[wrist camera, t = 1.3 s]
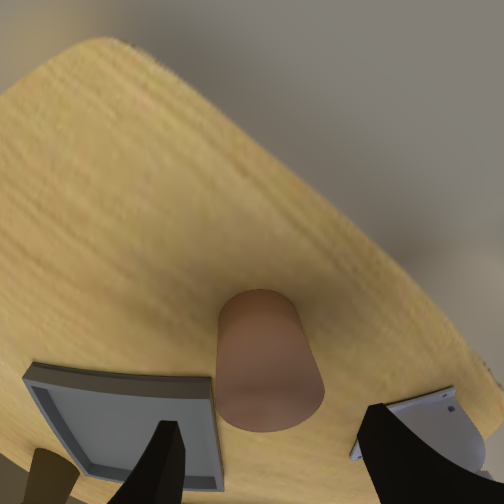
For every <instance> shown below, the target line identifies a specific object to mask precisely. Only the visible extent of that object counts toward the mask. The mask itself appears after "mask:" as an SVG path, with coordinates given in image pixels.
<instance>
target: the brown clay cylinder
mask: <svg viewBox="0 0 504 504" xmlns="http://www.w3.org/2000/svg"><path fill="white" fill-rule="evenodd" d="M324 393H325V389H324V384H323V381H322V378H321V375H320V373H319V370H318V367H317V365H316V362H315V359H314V357H313V354H312V351H311V349H310V346H309V343H308V341H307V338H306V336H305V333H304V330H303V328H302V325H301V322H300V320H299V317H298V315H297V312H296V310H295V308H294V306H293V304H292V303H291V302H290V301H289V300H288V299H287V298H286V297H285V296H283V295H281V294H279V293H277V292H274V291H271V290H264V289H257V290H250V291H246V292H243V293H241V294H239V295H237V296H235V297H233V298H232V299H231V300H230V301H228V303H227V304H226V305H225V306H224V307H223V309H222V311H221V313H220V315H219V319H218V333H217V358H216V389H215V405H216V409H217V411H218V413H219V414H220V416H221V417H222V418H223V419H224V420H225V421H226V422H228V423H229V424H231V425H232V426H234V427H237V428H239V429H242V430H246V431H251V432H275V431H280V430H284V429H288V428H291V427H293V426H296V425H298V424H300V423H301V422H303V421H305V420H306V419H308V418H309V417H310V416H311V415H313V414H314V413H315V412H316V410H317V409H318V408H319V406H320V405H321V403H322V401H323V398H324Z"/></svg>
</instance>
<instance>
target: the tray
mask: <svg viewBox="0 0 504 504" xmlns="http://www.w3.org/2000/svg"><path fill="white" fill-rule="evenodd" d="M22 379H23V381H24V383H25V385H26V387H27V389H28V391H29V393H30V394H31V396H32V398H33V400H34V401H35V403H36V405H37V407H38V408H39V410H40V412H41V413H42V415H43V417H44V418H45V420H46V421H47V423H48V425H49V426H50V428H51V429H52V431H53V432H54V434H55V435H56V437H57V438H58V440H59V441H60V442H61V444H62V445H63V447H64V448H65V449H66V451H67V452H68V454H69V455H70V456H71V458H72V459H73V460H74V462H75V463H76V464H77V465H78V467H79V468H80V469H81V470H82V472H83V473H84V474H85V475H86V476H89V477H93V478H98V479H102V480H107V481H112V482H117V483H124V482H125V480H126V479H127V478H128V476H129V475H130V473H131V472H132V470H133V469H134V467H135V466H136V464H137V462H138V461H139V459H140V457H141V456H142V454H143V452H144V451H145V449H146V447H147V445H148V443H149V442H150V440H151V438H152V436H153V434H154V432H155V429H156V427H157V425H158V423H159V421H161V420H169V421H178V425H179V428H180V432H181V435H182V439H183V442H184V446H185V449H186V460H185V478H184V485H183V491H204V492H224V472H223V465H222V459H221V452H220V445H219V438H218V431H217V424H216V416H215V409H214V401H213V392H212V384H211V377H164V376H144V375H129V374H117V373H106V372H97V371H88V370H80V369H73V368H66V367H59V366H53V365H47V364H41V363H36V362H33V363H32V364H31V365H30V367H29V368H28V370H27V371H26V373H25V374H24V375H23V377H22Z"/></svg>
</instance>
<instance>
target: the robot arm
mask: <svg viewBox="0 0 504 504" xmlns="http://www.w3.org/2000/svg"><path fill="white" fill-rule="evenodd" d="M455 392H456V388H455V387H451V388H448V389H445V390H442V391H439V392H436V393H432V394H429V395H426V396H422V397H419V398H415V399H412V400H408V401H404V402H400V403H396V404H392V405H388V406H385V405H384V404H383V403H379V404H375V405H370V406H368V409H367V411H366V414H365V416H364V419H363V421H362V424H361V426H360V429H359V431H358V434H357V438H358V439H357V442H356V444H355V446H354V448H353V450H352V453H351V455H350V460H351V461H355V460H359V459H363V460H364V463H365V465H366V467H367V470H368V472H369V475H370V477H371V480H372V482H373V485H374V487H375V489H376V492H377V494H378V497H379V500H380V503H381V504H504V483H500V482H496V481H495V480H494V479H493V478H492V476H491V474H490V473H489V472H488V471H481V470H480V469H481V468H482V466H483V463H484V460H485V444H484V441H483V438H482V436H481V434H480V432H479V431H478V430H477V428H476V427H475V425H474V424H473V422H472V421H471V420H470V418H469V417H468V415H467V414H466V413H465V411H464V410H463V408H462V407H461V406H460V404H459V403H458V402H457V400H456V399H455V397H454V394H455ZM185 460H186V449H185V446H184V442H183V439H182V435H181V432H180V428H179V425H178V421H169V420H161V421H159V423H158V425H157V427H156V429H155V432H154V434H153V436H152V438H151V440H150V442H149V443H148V445H147V447H146V449H145V451H144V452H143V454H142V456H141V457H140V459H139V461H138V462H137V464H136V466H135V467H134V469H133V470H132V472H131V473H130V475H129V476H128V478H127V479H126V480H125V482H124V483H123V485H122V486H121V487H120V489H119V490H118V491H117V492H116V494H115V495H114V496H113V497H112V498H111V499H110V501H109V502H108V503H107V504H181V499H182V492H183V485H184V478H185Z"/></svg>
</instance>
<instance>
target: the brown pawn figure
mask: <svg viewBox="0 0 504 504" xmlns="http://www.w3.org/2000/svg"><path fill="white" fill-rule="evenodd" d="M79 475H80V473H79V471H78V469H77V468H76V467H75V466H74V465H73V464H72V463H70V462H69V461H67V460H66V459H65V458H63V457H61V456H59V455H58V454H56V453H53V452H51V451H49V450H46V449H42V448H37V449H35V452H34V455H33V459H32V463H31V468H30V472H29V476H28V481H27V486H26V491H25V496H24V502H23V503H21V504H65V503H66V501H67V499H68V496H69V495H70V493H71V491H72V489H73V487H74V485H75V483H76V481H77V479H78V477H79Z"/></svg>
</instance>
